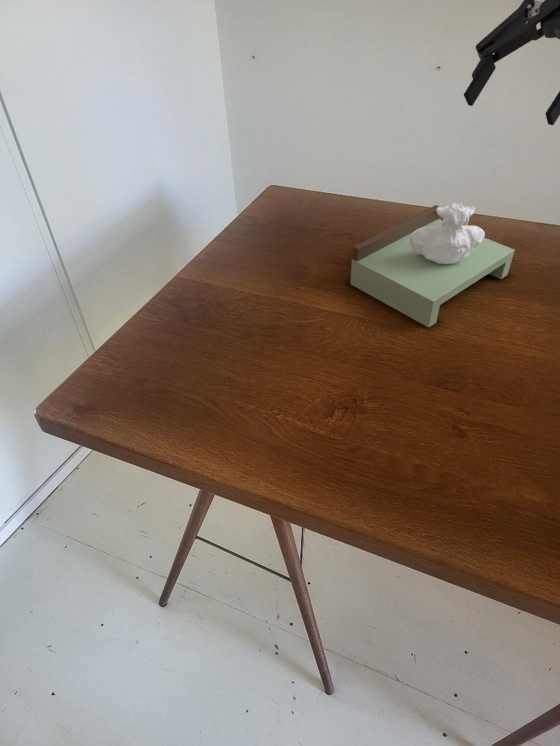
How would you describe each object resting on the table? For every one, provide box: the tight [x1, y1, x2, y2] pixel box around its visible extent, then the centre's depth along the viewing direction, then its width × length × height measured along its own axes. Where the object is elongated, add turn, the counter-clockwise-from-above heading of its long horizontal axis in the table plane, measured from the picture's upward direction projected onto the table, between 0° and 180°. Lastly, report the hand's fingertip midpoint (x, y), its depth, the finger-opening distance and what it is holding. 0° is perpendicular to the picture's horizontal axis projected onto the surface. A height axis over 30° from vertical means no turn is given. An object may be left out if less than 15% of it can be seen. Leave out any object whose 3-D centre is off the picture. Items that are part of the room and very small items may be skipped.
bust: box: [410, 202, 486, 264], centre depth 83 cm, size 12×8×11 cm
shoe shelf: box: [350, 204, 516, 328], centre depth 89 cm, size 17×22×7 cm
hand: (506, 109), depth 78 cm, fingers open, 13 cm apart
